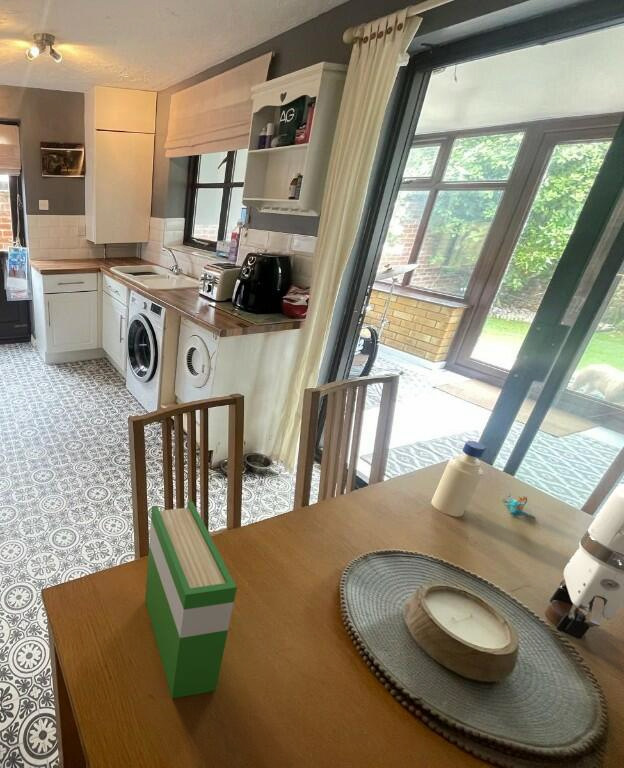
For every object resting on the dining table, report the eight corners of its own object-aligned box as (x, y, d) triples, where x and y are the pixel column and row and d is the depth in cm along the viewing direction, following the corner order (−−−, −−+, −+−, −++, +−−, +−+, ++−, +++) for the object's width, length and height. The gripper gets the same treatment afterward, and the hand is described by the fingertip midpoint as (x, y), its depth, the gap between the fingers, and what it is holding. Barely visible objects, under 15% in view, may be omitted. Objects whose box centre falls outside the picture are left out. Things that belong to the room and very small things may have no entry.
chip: (578, 618, 79) (585, 609, 78) (584, 639, 75) (591, 629, 74) (542, 604, 82) (549, 595, 80) (547, 623, 78) (553, 614, 77)
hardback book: (145, 600, 81) (151, 505, 71) (180, 595, 82) (192, 501, 72) (171, 698, 65) (185, 594, 55) (215, 690, 66) (236, 587, 56)
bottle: (463, 505, 108) (493, 443, 100) (463, 520, 103) (495, 456, 95) (431, 495, 111) (458, 434, 103) (430, 508, 106) (458, 446, 98)
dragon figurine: (481, 494, 111) (511, 503, 103) (505, 483, 111) (537, 491, 103) (490, 515, 111) (520, 527, 103) (513, 504, 111) (546, 514, 103)
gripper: (666, 597, 62) (604, 669, 70) (629, 531, 75) (581, 598, 82) (595, 572, 66) (544, 643, 74) (572, 513, 79) (530, 579, 87)
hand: (564, 618), depth 78 cm, fingers open, 6 cm apart
